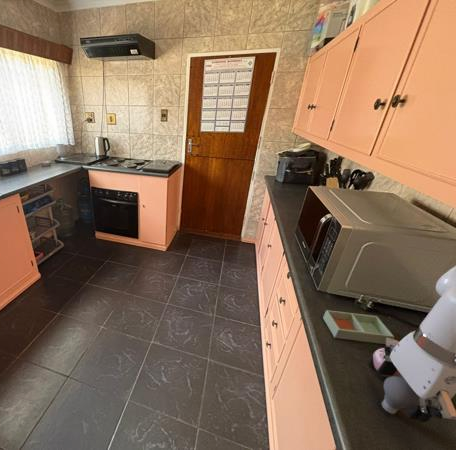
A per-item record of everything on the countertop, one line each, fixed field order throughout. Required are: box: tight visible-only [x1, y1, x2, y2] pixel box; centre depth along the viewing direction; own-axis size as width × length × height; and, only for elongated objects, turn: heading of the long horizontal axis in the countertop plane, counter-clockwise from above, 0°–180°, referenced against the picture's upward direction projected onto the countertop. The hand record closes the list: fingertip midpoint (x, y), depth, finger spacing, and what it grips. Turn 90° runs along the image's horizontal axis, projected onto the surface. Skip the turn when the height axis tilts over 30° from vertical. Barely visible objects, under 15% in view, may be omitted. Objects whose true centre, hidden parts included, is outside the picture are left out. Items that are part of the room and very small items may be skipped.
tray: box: [322, 309, 395, 345], centre depth 78 cm, size 16×8×4 cm, turn 82°
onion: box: [372, 347, 404, 379], centre depth 66 cm, size 8×8×7 cm
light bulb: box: [381, 376, 420, 415], centre depth 57 cm, size 6×6×10 cm
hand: (399, 394), depth 56 cm, fingers open, 9 cm apart
